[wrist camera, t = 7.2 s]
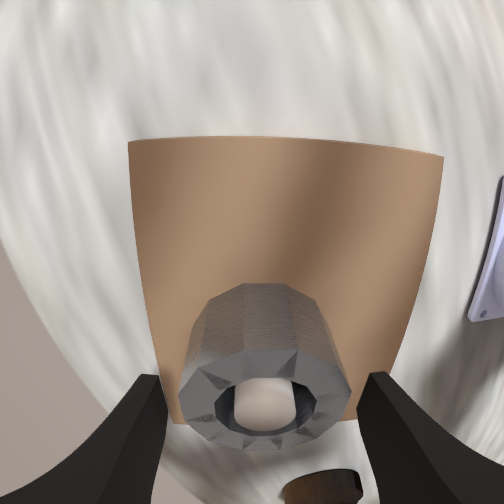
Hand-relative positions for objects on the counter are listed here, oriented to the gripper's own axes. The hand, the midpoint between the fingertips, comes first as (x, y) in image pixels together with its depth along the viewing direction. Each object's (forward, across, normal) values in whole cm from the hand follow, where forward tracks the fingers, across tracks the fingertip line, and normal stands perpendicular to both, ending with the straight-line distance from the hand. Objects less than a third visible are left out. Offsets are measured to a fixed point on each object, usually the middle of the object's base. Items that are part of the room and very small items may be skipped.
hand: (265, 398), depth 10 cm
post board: (+4, -1, -1) cm, 4 cm away
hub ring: (+3, 0, 0) cm, 3 cm away
